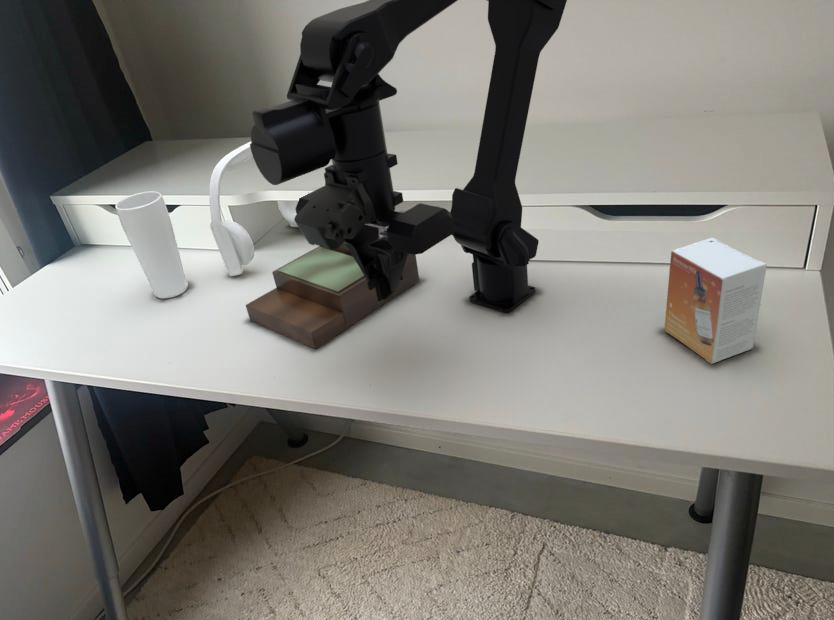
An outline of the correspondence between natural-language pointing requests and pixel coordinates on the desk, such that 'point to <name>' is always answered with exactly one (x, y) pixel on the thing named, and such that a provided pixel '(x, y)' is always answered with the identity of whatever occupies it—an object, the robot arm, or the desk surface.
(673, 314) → the small box
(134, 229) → the drinking glass
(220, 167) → the headset
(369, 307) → the step shelf
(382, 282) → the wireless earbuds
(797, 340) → the desk surface
